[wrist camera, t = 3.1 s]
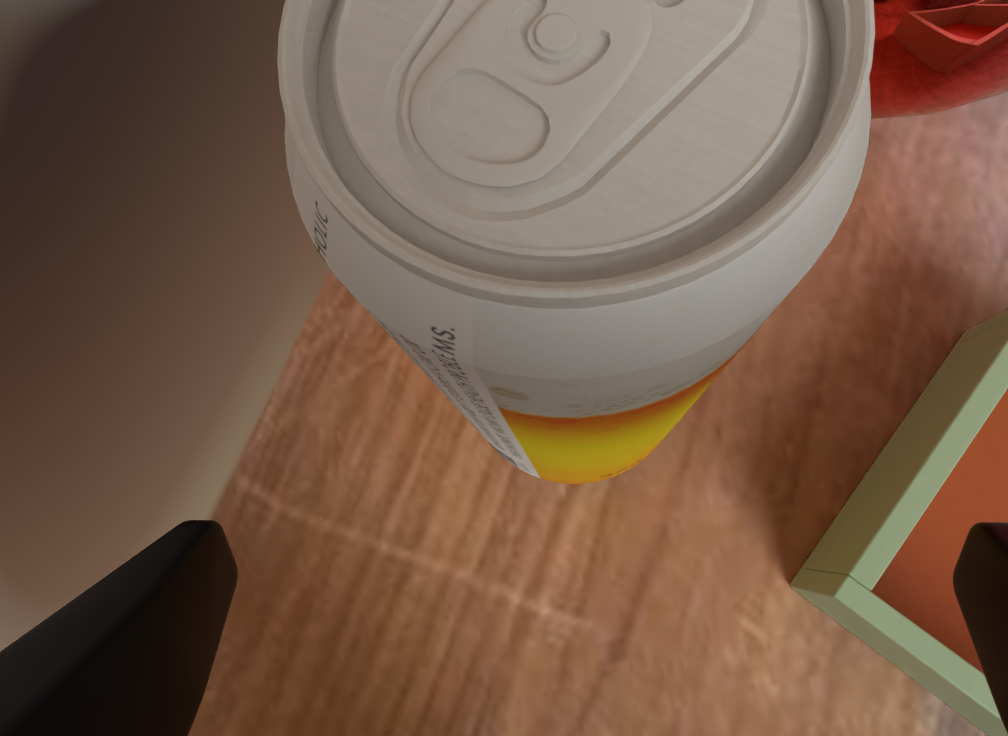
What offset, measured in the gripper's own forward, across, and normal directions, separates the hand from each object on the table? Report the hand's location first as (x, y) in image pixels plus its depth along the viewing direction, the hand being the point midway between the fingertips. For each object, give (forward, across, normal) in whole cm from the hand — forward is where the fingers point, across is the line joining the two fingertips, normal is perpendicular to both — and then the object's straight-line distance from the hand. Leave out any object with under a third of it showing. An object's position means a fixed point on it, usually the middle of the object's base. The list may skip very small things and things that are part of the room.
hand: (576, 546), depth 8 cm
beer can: (+12, 0, +5) cm, 13 cm away
